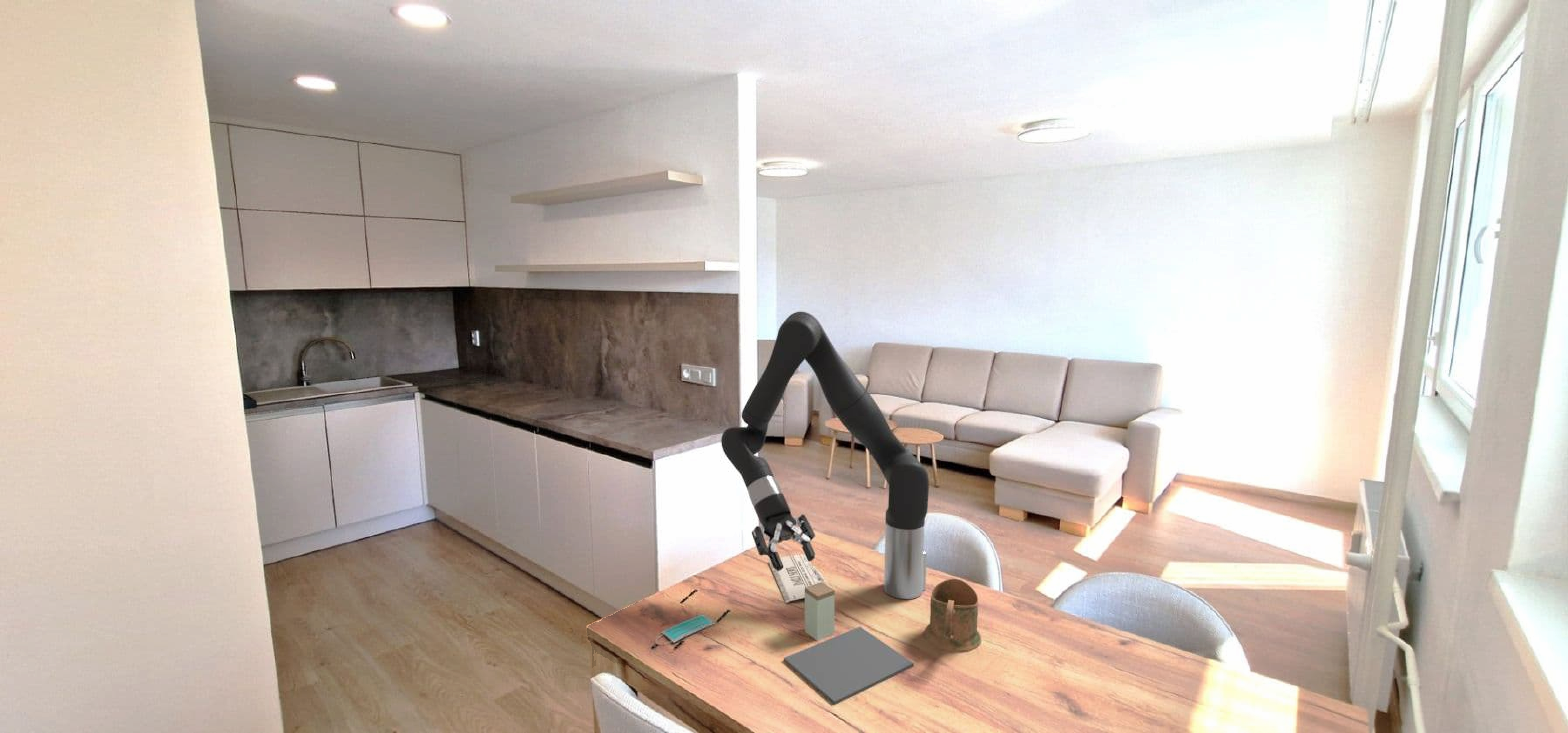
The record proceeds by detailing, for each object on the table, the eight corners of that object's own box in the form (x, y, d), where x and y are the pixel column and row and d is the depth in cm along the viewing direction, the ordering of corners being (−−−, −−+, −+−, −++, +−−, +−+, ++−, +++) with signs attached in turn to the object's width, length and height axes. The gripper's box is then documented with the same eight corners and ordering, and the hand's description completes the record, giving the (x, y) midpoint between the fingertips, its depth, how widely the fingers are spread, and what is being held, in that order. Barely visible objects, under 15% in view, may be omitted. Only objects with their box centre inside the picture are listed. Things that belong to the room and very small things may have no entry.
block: (821, 624, 142) (821, 582, 140) (834, 634, 138) (834, 590, 137) (804, 631, 139) (804, 587, 138) (817, 641, 136) (817, 596, 134)
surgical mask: (696, 587, 151) (733, 595, 147) (696, 604, 152) (734, 613, 147) (642, 631, 132) (684, 642, 128) (643, 651, 133) (684, 662, 129)
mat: (859, 629, 140) (859, 626, 140) (913, 666, 127) (914, 663, 127) (783, 660, 129) (783, 658, 129) (834, 704, 116) (834, 701, 116)
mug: (916, 662, 128) (918, 605, 126) (928, 617, 145) (930, 567, 143) (977, 674, 124) (980, 616, 122) (982, 627, 141) (985, 575, 139)
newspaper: (836, 600, 153) (835, 591, 153) (786, 611, 151) (785, 601, 150) (812, 558, 175) (811, 550, 175) (768, 567, 173) (767, 558, 172)
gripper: (748, 498, 145) (776, 566, 137) (799, 486, 153) (829, 549, 145) (736, 514, 150) (763, 579, 142) (786, 501, 158) (814, 563, 150)
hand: (796, 564), depth 144 cm, fingers open, 8 cm apart
